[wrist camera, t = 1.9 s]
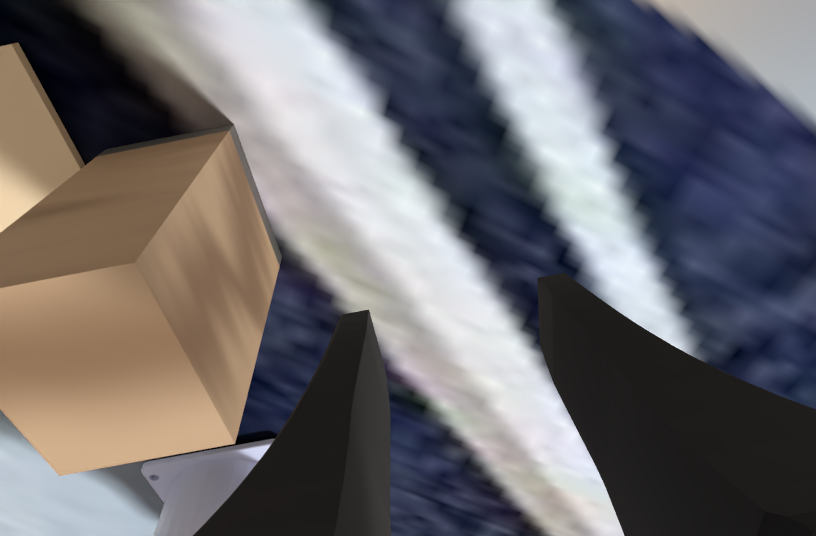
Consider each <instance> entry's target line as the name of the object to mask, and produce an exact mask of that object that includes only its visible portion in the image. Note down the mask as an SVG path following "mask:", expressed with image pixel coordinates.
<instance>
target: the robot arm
mask: <svg viewBox="0 0 816 536" xmlns="http://www.w3.org/2000/svg"><path fill="white" fill-rule="evenodd" d="M538 301H539V328H540V346H541V349H542V352H543V355H544V358H545V361H546V363H547V366H548V369H549V372H550V374H551V377H552V380H553V382H554V385H555V387H556V389H557V391H558V393H559V395H560V397H561V399H562V401H563V403H564V405H565V407H566V408H567V410H568V412H569V414H570V416H571V418H572V420H573V422H574V424H575V426H576V428H577V430H578V432H579V434H580V436H581V438H582V440H583V442H584V444H585V446H586V448H587V450H588V451H589V453H590V455H591V457H592V459H593V461H594V463H595V465H596V467H597V469H598V471H599V474H600V476H601V478H602V480H603V482H604V485H605V487H606V489H607V492H608V494H609V497H610V499H611V502H612V505H613V507H614V510H615V512H616V515H617V517H618V520H619V522H620V525H621V527H622V530H623V533H624V535H625V536H816V409H813V408H810V407H808V406H805V405H802V404H800V403H797V402H794V401H792V400H789V399H786V398H784V397H781V396H779V395H776V394H774V393H771V392H769V391H767V390H764V389H762V388H759V387H757V386H755V385H752V384H750V383H747V382H745V381H743V380H740V379H738V378H736V377H734V376H732V375H729V374H727V373H725V372H723V371H721V370H719V369H717V368H715V367H713V366H711V365H709V364H707V363H705V362H703V361H701V360H699V359H697V358H695V357H693V356H691V355H689V354H687V353H685V352H683V351H681V350H680V349H678V348H676V347H674V346H672V345H671V344H669V343H667V342H666V341H664V340H662V339H661V338H659V337H657V336H655V335H654V334H652V333H650V332H649V331H647V330H645V329H644V328H642V327H641V326H639V325H638V324H636V323H634V322H633V321H631V320H630V319H628V318H627V317H625V316H624V315H622V314H621V313H619V312H618V311H616V310H615V309H614V308H612V307H611V306H609V305H608V304H606V303H605V302H604V301H602V300H601V299H599V298H598V297H597V296H595V295H594V294H593V293H591V292H590V291H588V290H587V289H586V288H584V287H583V286H582V285H580V284H579V283H577V282H576V281H575V280H573V279H572V278H571V277H569V276H568V275H566V274H565V273H561V274H556V275H551V276H546V277H540V278H538ZM141 472H142V474H143V475H144V477H145V478H146V479H147V481H148V482H149V483H150V485H151V486H152V488H153V489H154V490H155V492H156V493H157V494H158V496H159V497H160V498H161V500H162V501H163V502H164V506H163V509H162V512H161V515H160V518H159V520H158V523H157V526H156V529H155V532H154V535H153V536H391V526H390V405H389V395H388V386H387V378H386V372H385V368H384V364H383V360H382V357H381V353H380V349H379V345H378V342H377V338H376V334H375V331H374V327H373V323H372V319H371V316H370V312H369V310H364V311H359V312H354V313H348V314H343V315H342V317H341V318H340V319H339V322H338V324H337V327H336V329H335V331H334V334H333V336H332V338H331V341H330V343H329V345H328V347H327V349H326V352H325V354H324V356H323V358H322V360H321V362H320V364H319V366H318V368H317V370H316V372H315V374H314V376H313V378H312V380H311V381H310V383H309V385H308V387H307V389H306V390H305V392H304V394H303V395H302V397H301V399H300V401H299V402H298V404H297V406H296V407H295V409H294V411H293V412H292V414H291V416H290V417H289V419H288V420H287V422H286V423H285V425H284V426H283V428H282V429H281V431H280V432H279V434H278V435H277V437H276V438H275V439H268V440H262V441H257V442H251V443H246V444H240V445H235V446H229V447H224V448H219V449H213V450H208V451H202V452H197V453H191V454H186V455H180V456H175V457H169V458H164V459H158V460H153V461H148V462H145V463H144V464H143V466H142V469H141Z"/></svg>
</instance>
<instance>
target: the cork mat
mask: <svg viewBox="0 0 816 536" xmlns="http://www.w3.org/2000/svg"><path fill="white" fill-rule="evenodd" d="M84 166H85V164H84V162H83V160H82V158H81V156H80V155H79V153H78V151H77V149H76V147H75V145H74V144H73V142H72V140H71V138H70V136H69V134H68V133H67V131H66V129H65V127H64V125H63V123H62V122H61V120H60V118H59V116H58V114H57V113H56V111H55V109H54V107H53V105H52V103H51V102H50V100H49V98H48V96H47V94H46V92H45V91H44V89H43V87H42V85H41V83H40V81H39V80H38V78H37V76H36V74H35V72H34V70H33V69H32V67H31V65H30V63H29V61H28V59H27V58H26V56H25V54H24V52H23V50H22V49H21V47H20V45H19V43H14V44H9V45H4V46H0V233H1V232H2V231H3V230H4V229H6V228H7V227H8V226H10V225H11V224H12V223H13V222H15V221H16V220H17V219H18V218H20V217H21V216H22V215H23V214H25V213H26V212H27V211H28V210H30V209H31V208H32V207H34V206H35V205H36V204H37V203H39V202H40V201H41V200H42V199H44V198H45V197H46V196H47V195H49V194H50V193H51V192H52V191H54V190H55V189H56V188H58V187H59V186H60V185H61V184H63V183H64V182H65V181H66V180H68V179H69V178H70V177H71V176H73V175H74V174H75V173H76V172H78V171H79V170H80V169H82V168H83V167H84Z"/></svg>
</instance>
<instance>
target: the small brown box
mask: <svg viewBox="0 0 816 536" xmlns="http://www.w3.org/2000/svg"><path fill="white" fill-rule="evenodd" d="M281 259H282V256H281V253H280V250H279V248H278V245H277V242H276V239H275V237H274V234H273V231H272V228H271V225H270V223H269V220H268V217H267V214H266V212H265V209H264V206H263V203H262V201H261V198H260V195H259V192H258V189H257V187H256V184H255V181H254V178H253V176H252V173H251V170H250V167H249V165H248V162H247V159H246V156H245V153H244V151H243V148H242V145H241V142H240V140H239V137H238V134H237V131H236V129H235V126H234V124H232V125H227V126H222V127H216V128H211V129H206V130H201V131H196V132H191V133H186V134H181V135H176V136H171V137H166V138H161V139H156V140H151V141H146V142H140V143H135V144H130V145H125V146H120V147H115V148H110V149H106V150H104V151H103V152H102V153H100V154H99V155H98V156H97V157H95V158H94V159H93V160H92V161H90V162H89V163H88V164H87V165H85V166H84V167H83V168H82V169H80V170H79V171H78V172H76V173H75V174H74V175H73V176H71V177H70V178H69V179H68V180H66V181H65V182H64V183H63V184H61V185H60V186H59V187H58V188H56V189H55V190H54V191H52V192H51V193H50V194H49V195H47V196H46V197H45V198H44V199H42V200H41V201H40V202H39V203H37V204H36V205H35V206H34V207H32V208H31V209H30V210H28V211H27V212H26V213H25V214H23V215H22V216H21V217H20V218H18V219H17V220H16V221H15V222H13V223H12V224H11V225H10V226H8V227H7V228H6V229H4V230H3V231H2V232H1V233H0V410H1V411H2V412H3V413H4V414H5V415H6V416H7V418H8V419H9V420H10V421H11V422H12V423H13V424H14V425H15V426H16V428H17V429H18V430H19V431H20V432H21V433H22V434H23V435H24V437H25V438H26V439H27V440H28V441H29V442H30V443H31V444H32V446H33V447H34V448H35V449H36V450H37V451H38V452H39V453H40V455H41V456H42V457H43V458H44V459H45V460H46V461H47V462H48V464H49V465H50V466H51V467H52V468H53V469H54V470H55V471H56V473H57V474H58V475H59V476H61V475H67V474H72V473H78V472H83V471H89V470H94V469H99V468H105V467H110V466H116V465H121V464H127V463H132V462H138V461H143V460H149V459H154V458H160V457H165V456H171V455H176V454H182V453H187V452H193V451H198V450H204V449H209V448H214V447H220V446H225V445H231V444H235V442H236V438H237V434H238V430H239V426H240V422H241V418H242V414H243V410H244V406H245V402H246V398H247V394H248V390H249V386H250V382H251V378H252V374H253V370H254V366H255V362H256V358H257V354H258V350H259V346H260V342H261V338H262V334H263V330H264V326H265V323H266V319H267V315H268V311H269V307H270V303H271V299H272V295H273V291H274V287H275V283H276V279H277V275H278V271H279V267H280V263H281Z"/></svg>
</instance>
